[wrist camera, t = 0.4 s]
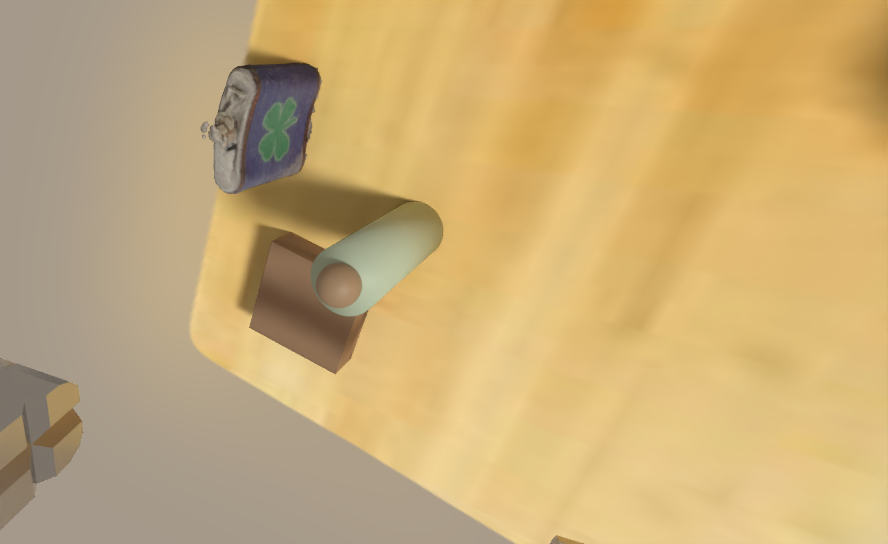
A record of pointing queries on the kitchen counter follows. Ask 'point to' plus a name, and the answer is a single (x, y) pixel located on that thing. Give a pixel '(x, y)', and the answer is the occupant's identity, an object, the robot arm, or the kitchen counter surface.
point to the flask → (263, 124)
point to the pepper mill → (375, 258)
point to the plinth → (302, 307)
